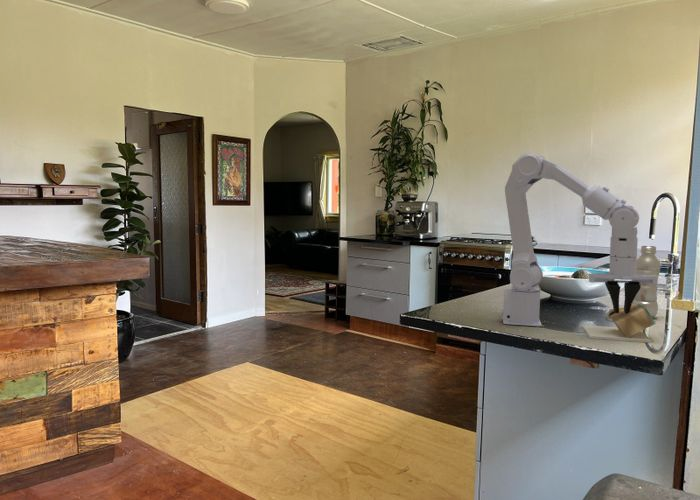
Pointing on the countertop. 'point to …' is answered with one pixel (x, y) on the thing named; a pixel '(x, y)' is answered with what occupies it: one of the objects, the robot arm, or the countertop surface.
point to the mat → (613, 334)
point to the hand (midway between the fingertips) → (621, 312)
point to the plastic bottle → (648, 292)
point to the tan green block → (633, 320)
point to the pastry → (611, 314)
